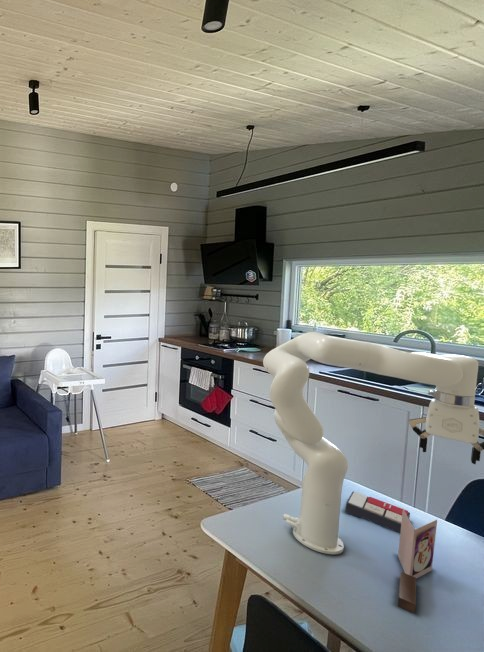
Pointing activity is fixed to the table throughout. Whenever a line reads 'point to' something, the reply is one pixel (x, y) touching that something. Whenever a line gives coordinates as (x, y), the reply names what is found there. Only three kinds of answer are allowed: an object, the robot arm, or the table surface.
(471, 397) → the robot arm
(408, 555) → the greeting card
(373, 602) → the table surface
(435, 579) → the table surface
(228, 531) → the table surface
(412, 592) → the walnut bar
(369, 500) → the calculator
